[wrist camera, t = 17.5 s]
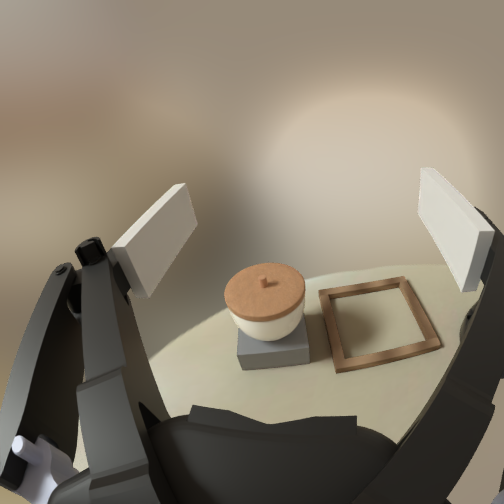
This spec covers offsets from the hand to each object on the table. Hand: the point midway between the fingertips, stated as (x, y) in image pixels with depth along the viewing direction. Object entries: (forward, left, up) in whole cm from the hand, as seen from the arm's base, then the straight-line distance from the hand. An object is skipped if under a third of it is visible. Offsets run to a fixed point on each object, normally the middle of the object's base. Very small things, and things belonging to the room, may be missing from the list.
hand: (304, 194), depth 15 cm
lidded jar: (+5, -15, -26) cm, 30 cm away
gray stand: (+5, -15, -30) cm, 34 cm away
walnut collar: (-12, -16, -30) cm, 36 cm away
